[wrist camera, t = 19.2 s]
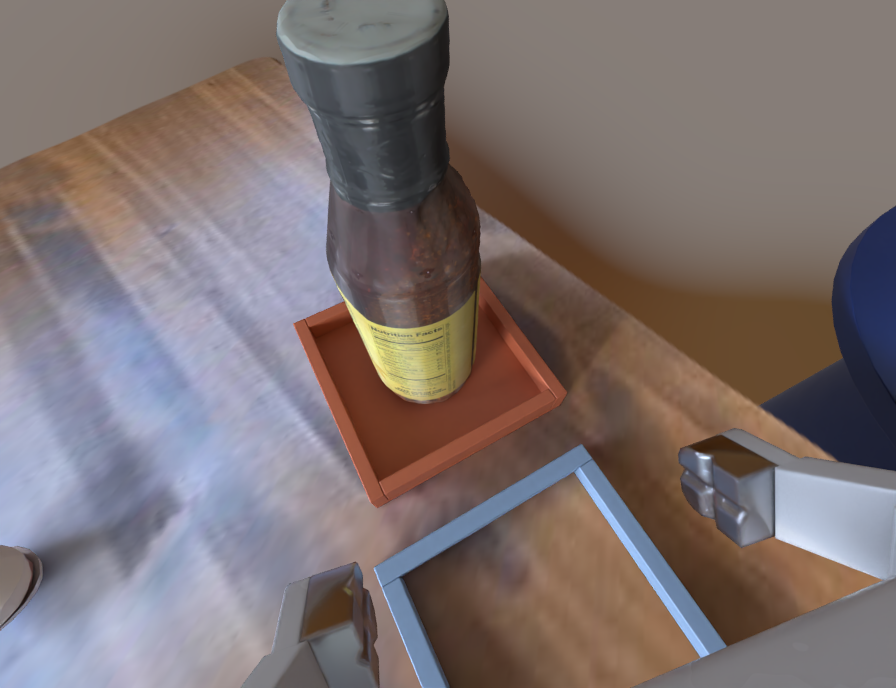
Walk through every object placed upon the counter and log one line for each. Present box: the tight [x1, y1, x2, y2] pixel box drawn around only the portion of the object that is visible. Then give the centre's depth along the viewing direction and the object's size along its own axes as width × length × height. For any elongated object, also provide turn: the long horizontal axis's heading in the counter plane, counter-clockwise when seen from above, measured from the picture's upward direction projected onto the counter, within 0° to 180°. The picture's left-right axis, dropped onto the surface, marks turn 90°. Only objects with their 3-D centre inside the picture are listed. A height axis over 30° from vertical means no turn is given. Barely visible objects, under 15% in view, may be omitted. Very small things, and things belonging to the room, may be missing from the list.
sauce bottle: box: [276, 0, 481, 404], centre depth 18 cm, size 6×6×20 cm
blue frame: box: [374, 444, 727, 688], centre depth 20 cm, size 13×14×1 cm
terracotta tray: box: [293, 276, 567, 508], centre depth 27 cm, size 13×13×2 cm
